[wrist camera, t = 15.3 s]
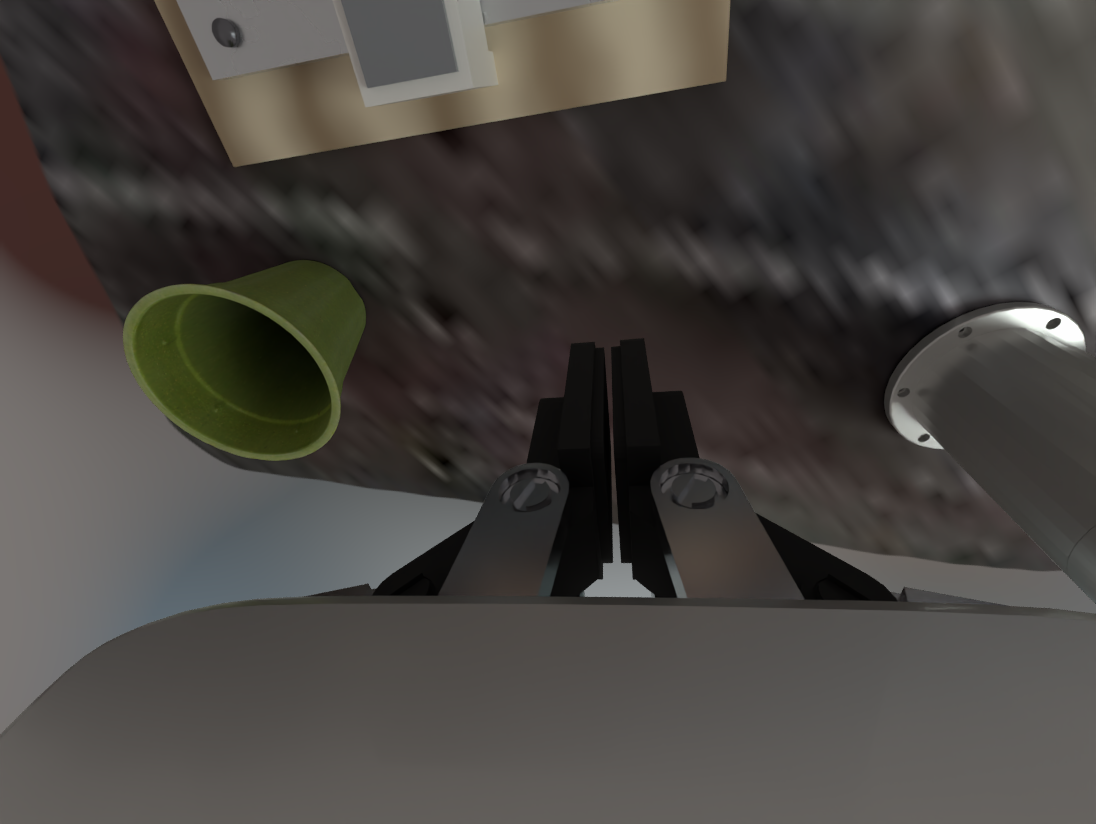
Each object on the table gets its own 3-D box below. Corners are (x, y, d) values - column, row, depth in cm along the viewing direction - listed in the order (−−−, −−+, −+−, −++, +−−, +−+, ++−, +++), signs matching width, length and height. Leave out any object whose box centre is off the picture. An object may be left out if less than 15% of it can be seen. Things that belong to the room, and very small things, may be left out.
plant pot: (276, 373, 40) (186, 461, 31) (214, 228, 33) (74, 286, 24) (413, 373, 39) (362, 463, 30) (378, 224, 32) (298, 283, 23)
